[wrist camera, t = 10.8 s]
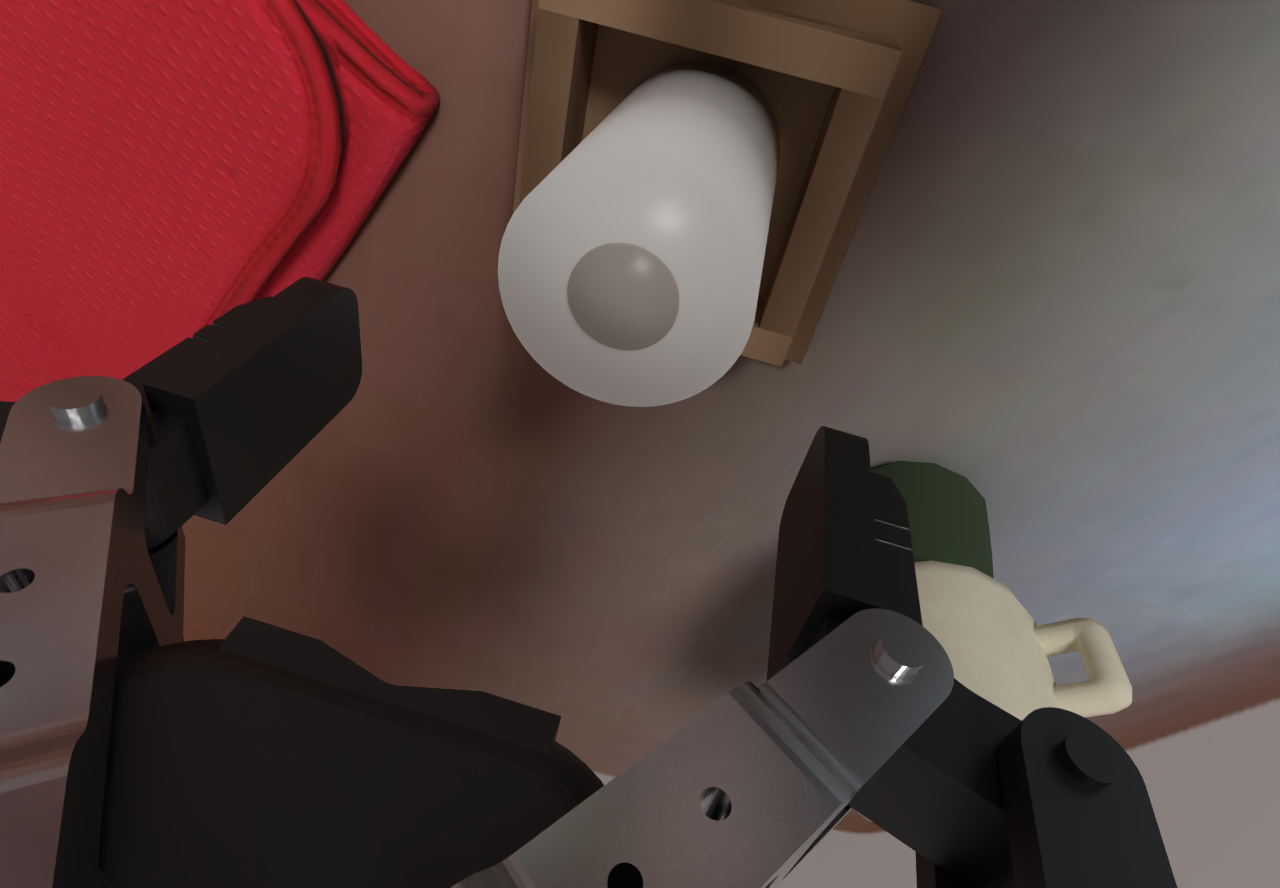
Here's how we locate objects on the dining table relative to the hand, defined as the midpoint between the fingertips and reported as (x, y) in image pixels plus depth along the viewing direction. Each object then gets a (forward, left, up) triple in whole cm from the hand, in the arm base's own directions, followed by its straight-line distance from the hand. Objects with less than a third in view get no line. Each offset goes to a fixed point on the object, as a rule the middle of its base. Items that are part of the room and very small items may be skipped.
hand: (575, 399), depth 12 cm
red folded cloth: (+27, +13, -17) cm, 34 cm away
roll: (0, 0, -15) cm, 15 cm away
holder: (0, 0, -16) cm, 16 cm away
